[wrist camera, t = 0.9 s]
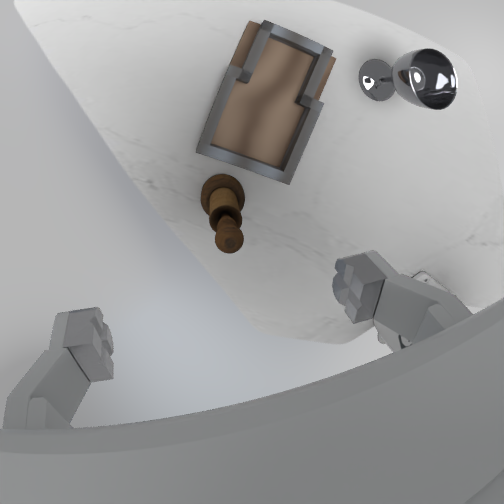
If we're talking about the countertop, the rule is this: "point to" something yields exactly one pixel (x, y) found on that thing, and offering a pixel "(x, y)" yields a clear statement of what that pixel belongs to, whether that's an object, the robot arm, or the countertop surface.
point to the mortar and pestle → (224, 210)
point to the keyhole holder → (268, 101)
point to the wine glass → (412, 79)
